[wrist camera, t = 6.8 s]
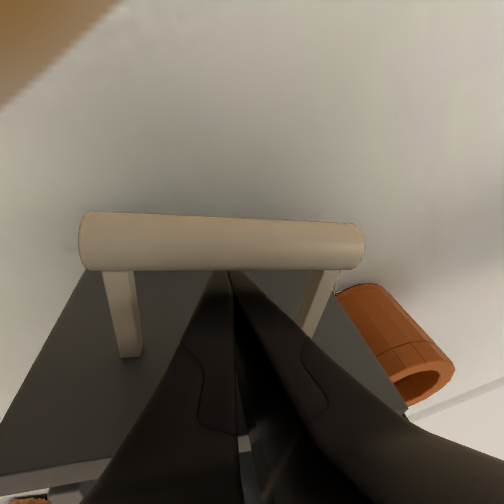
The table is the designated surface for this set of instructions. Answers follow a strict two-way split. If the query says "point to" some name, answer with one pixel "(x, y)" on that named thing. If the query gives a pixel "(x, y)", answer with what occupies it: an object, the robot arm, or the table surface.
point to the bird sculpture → (31, 501)
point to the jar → (397, 342)
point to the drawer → (165, 334)
